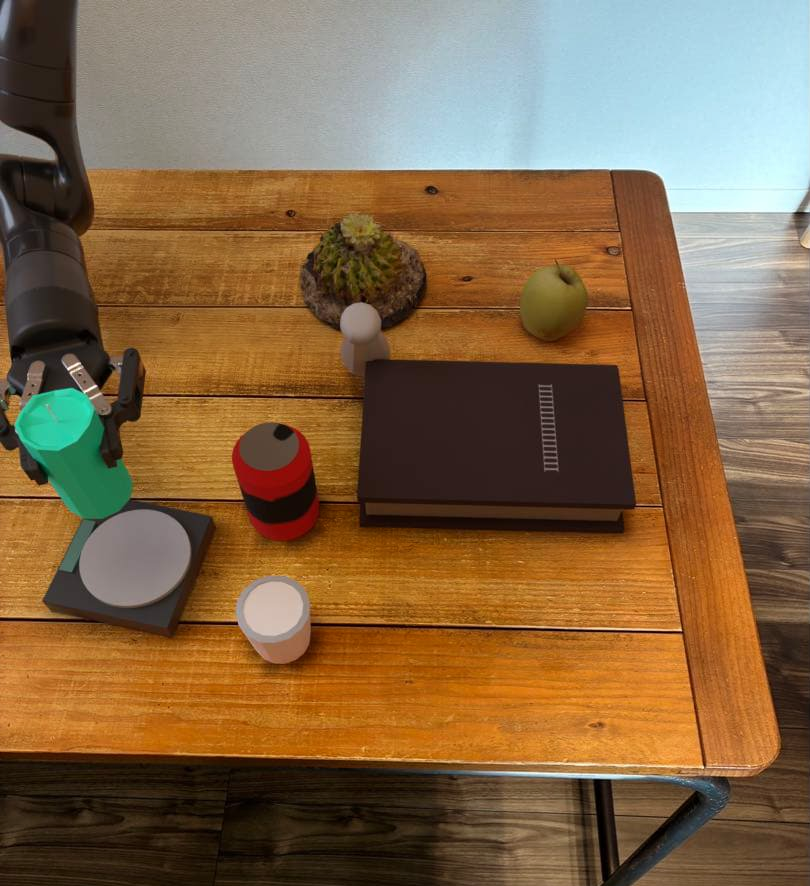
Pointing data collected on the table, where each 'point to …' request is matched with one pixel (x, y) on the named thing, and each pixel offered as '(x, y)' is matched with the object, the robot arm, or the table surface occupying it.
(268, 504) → the soda can
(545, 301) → the apple
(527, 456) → the book
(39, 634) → the table surface
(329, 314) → the cactus
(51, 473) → the candle
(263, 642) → the yogurt cup
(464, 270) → the table surface
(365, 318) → the salt shaker
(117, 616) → the kitchen scale
